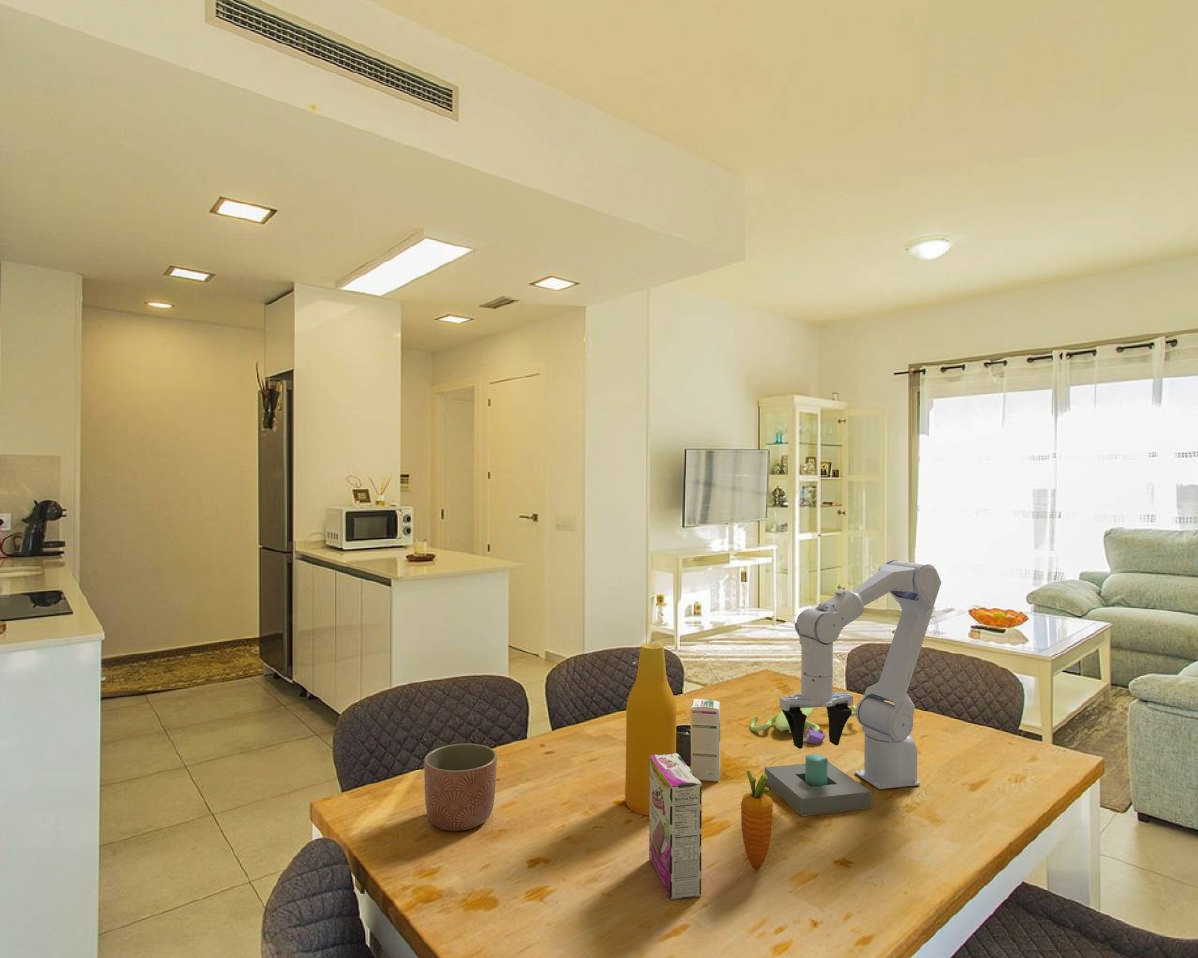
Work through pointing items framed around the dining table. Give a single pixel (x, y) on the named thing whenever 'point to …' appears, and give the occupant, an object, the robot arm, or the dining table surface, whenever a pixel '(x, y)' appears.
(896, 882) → the dining table surface
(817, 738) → the figurine
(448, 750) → the planter
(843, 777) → the socket
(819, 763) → the peg
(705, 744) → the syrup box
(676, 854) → the candy bar box
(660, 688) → the beer bottle
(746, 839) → the carrot
